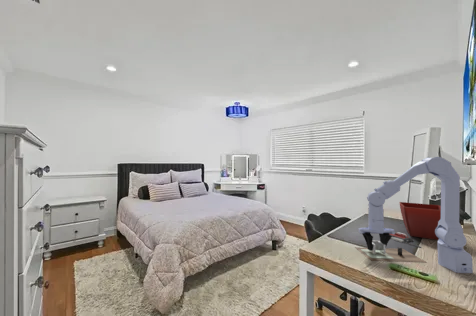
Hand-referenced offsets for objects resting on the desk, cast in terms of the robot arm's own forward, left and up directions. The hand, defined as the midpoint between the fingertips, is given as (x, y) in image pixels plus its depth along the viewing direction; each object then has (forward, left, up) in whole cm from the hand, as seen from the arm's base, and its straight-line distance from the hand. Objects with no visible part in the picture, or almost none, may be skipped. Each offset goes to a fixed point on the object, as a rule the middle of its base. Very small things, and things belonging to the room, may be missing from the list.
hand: (376, 249), depth 94 cm
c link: (0, 0, -1) cm, 1 cm away
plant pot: (+31, -43, -3) cm, 53 cm away
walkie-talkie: (+19, -24, -3) cm, 31 cm away
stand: (0, -5, -3) cm, 6 cm away
